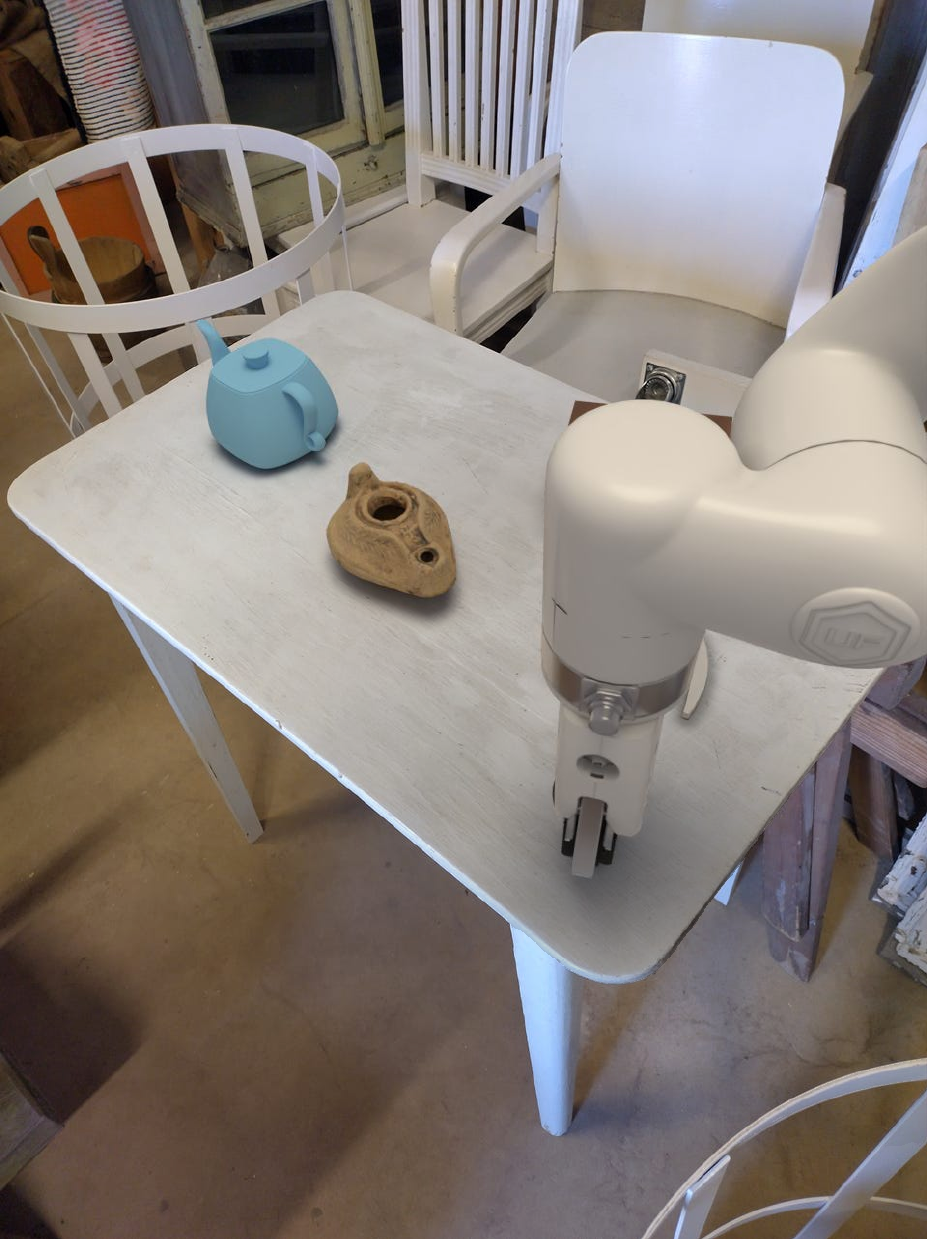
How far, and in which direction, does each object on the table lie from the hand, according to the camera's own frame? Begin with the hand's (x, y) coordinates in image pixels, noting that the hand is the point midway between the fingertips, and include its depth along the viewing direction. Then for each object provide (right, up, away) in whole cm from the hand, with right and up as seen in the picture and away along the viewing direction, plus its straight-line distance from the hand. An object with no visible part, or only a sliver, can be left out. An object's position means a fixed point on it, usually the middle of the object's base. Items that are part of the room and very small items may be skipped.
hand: (594, 809), depth 54 cm
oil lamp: (-14, +18, +22) cm, 32 cm away
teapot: (-29, +33, +36) cm, 57 cm away
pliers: (+8, +11, +15) cm, 21 cm away
